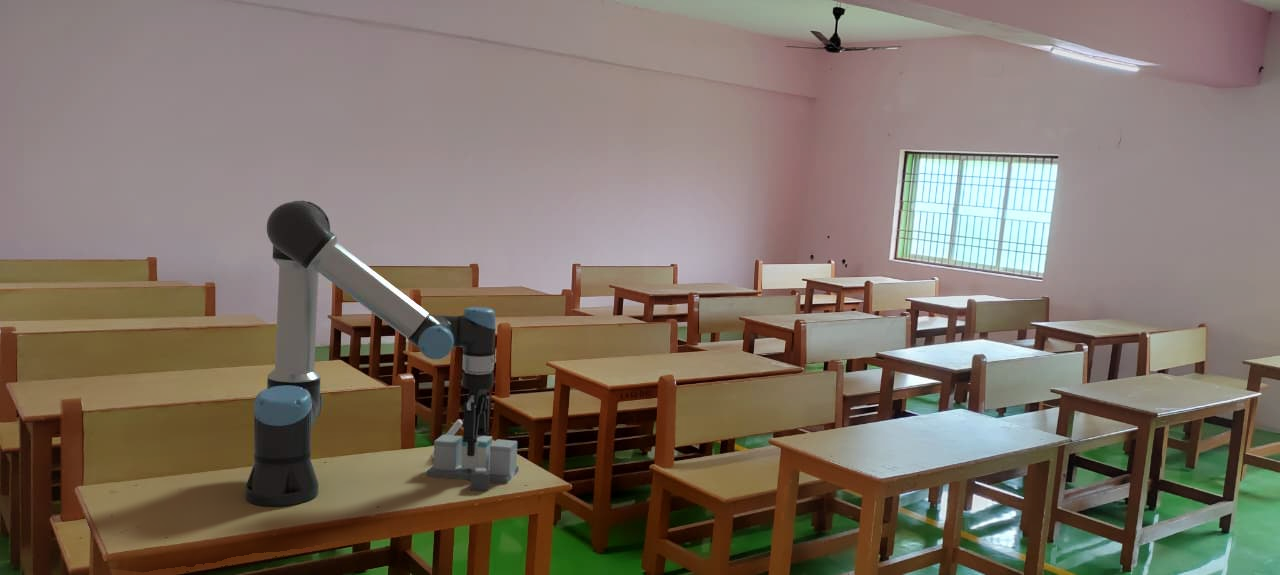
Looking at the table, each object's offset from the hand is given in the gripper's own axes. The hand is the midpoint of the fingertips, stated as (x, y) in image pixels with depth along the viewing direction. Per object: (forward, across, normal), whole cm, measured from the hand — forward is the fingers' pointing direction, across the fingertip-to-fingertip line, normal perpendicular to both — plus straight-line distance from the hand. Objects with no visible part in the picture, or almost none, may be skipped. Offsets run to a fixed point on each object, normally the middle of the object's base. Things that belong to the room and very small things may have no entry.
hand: (475, 464), depth 227 cm
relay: (+2, -10, -4) cm, 11 cm away
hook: (+3, +12, +12) cm, 17 cm away
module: (0, 0, 0) cm, 1 cm away
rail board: (+2, 0, 0) cm, 2 cm away
